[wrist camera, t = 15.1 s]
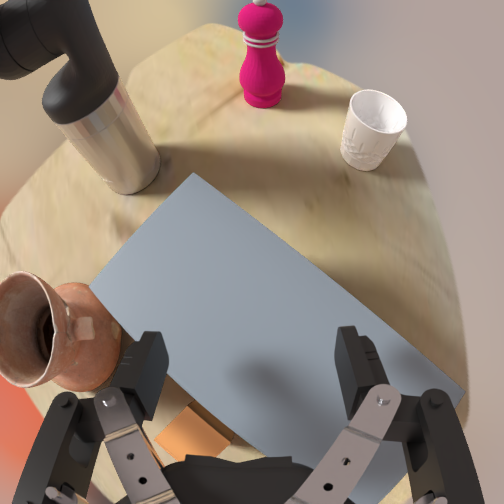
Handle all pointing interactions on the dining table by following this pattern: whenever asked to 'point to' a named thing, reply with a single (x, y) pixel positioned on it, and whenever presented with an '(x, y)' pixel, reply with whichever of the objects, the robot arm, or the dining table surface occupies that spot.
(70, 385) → the ceramic jug
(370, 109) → the white cup
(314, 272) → the grey cubby
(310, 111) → the dining table surface
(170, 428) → the orange block
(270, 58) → the pepper mill
